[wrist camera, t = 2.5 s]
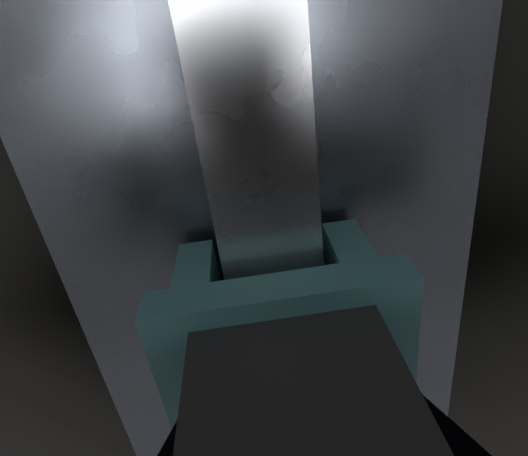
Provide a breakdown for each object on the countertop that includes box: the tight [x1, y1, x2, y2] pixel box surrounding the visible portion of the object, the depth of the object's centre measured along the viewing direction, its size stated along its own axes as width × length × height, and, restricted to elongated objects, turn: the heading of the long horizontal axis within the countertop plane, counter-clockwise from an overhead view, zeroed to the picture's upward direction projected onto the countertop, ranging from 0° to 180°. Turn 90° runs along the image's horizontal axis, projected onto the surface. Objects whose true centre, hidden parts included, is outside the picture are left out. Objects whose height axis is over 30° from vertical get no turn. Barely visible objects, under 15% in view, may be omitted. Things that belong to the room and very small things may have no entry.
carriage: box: [134, 219, 454, 456], centre depth 9 cm, size 6×5×6 cm
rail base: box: [0, 0, 503, 456], centre depth 9 cm, size 12×30×3 cm, turn 7°
